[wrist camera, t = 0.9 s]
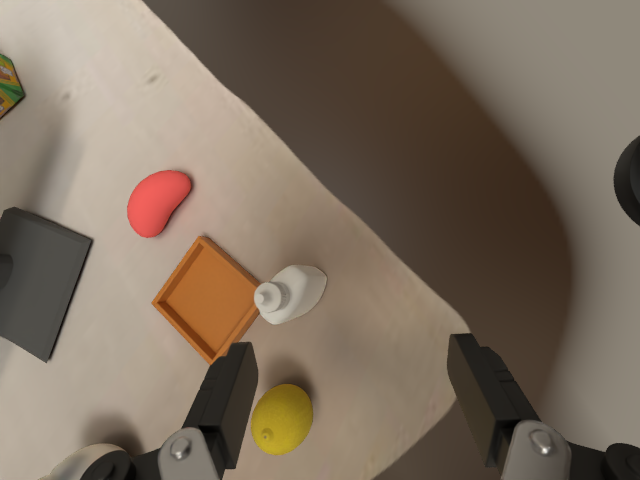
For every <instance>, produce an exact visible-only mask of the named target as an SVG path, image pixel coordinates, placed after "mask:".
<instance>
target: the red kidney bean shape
mask: <svg viewBox="0 0 640 480" xmlns="http://www.w3.org/2000/svg"><path fill="white" fill-rule="evenodd" d="M190 189H191V183H190V180H189V178H188V177H187V175H186V174H184V173H181V172H179V171H172V170H167V171H159V172H157V173H154V174H152V175H149V176H148V177H147V178H145V179H144V180H142V181H141V182H140V183H139V184H138V185H137V186H136V188H135V189H134V191H133V192H132V194H131V196H130V199H129V203H128V206H127V213H128V219H129V222H130V225H131V226H132V228H133V229H134V231H135V232H136V233H138V234H139V235H140V236H142V237H146V238H149V237H154V236H156V235H158V234H159V233H160V232H161V231H162V230H163V228H164V226H165V224H166V223H167V221H168V219H169V217H170V215H171V213H172V211H173V210H174V209H175V208H176V207H177V206H178V205H179V204H180V202H181V201H182V200H183V199H184V198H185V197H186V196H187V194H188V193H189V191H190Z"/></svg>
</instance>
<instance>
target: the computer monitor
mask: <svg viewBox="0 0 640 480" xmlns="http://www.w3.org/2000/svg"><path fill="white" fill-rule="evenodd" d="M90 242H91V240H90V239H88V238H85V237H83V236H81V235H79V234H76V233H74V232H72V231H69V230H67V229H65V228H63V227H60V226H58V225H56V224H54V223H51V222H49V221H47V220H44V219H42V218H40V217H38V216H35V215H33V214H31V213H28V212H26V211H24V210H22V209H19V208H17V207H12V208H9V209H6V210H4V212H3V214H2V217H1V220H0V336H2V337H4V338H6V339H8V340H9V341H11V342H13V343H15V344H16V345H18V346H20V347H21V348H23V349H24V350H26V351H28V352H29V353H31V354H32V355H34V356H36V357H37V358H39V359H41V360H42V361H44V362H45V363H47V361H48V358H49V355H50V353H51V350H52V347H53V344H54V341H55V339H56V336H57V333H58V330H59V328H60V325H61V322H62V319H63V317H64V314H65V311H66V308H67V306H68V303H69V300H70V297H71V295H72V292H73V289H74V286H75V283H76V281H77V278H78V275H79V272H80V270H81V267H82V264H83V261H84V259H85V256H86V253H87V250H88V248H89V245H90Z"/></svg>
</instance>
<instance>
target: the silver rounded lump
mask: <svg viewBox="0 0 640 480" xmlns="http://www.w3.org/2000/svg"><path fill="white" fill-rule="evenodd" d="M115 450H123V451H125V450H124V449H122V448H120V447H119V446H116V445H113V444H95V445H90V446H87V447H85V448H82V449H80V450H78V451H76V452H75V453H73V454H71V455H70V456H68V457H67V458H66V459H65V460H63V461H62V462H61V463H60V464H58V465H57V466H56V467H55V468H54V469H53V470H52V472H51V473H50V474H49V475H47V476H44V477H42V478H40V479H38V480H80V478H81V477H82V475H83V474H84V472H85V471H86V469H87V468H88V467H89V466H90V465H91V464H92V463H93V462H94V461H96V460H97V459H98V458H100V457H101V456H103V455H104V454H106V453H109V452H111V451H115ZM125 452H126V451H125ZM130 458H131V457H130Z"/></svg>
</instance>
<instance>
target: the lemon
mask: <svg viewBox="0 0 640 480" xmlns="http://www.w3.org/2000/svg"><path fill="white" fill-rule="evenodd" d="M312 420H313V408H312V404H311V401H310V398H309V397H308V395H307V394H306V393H305V392H304V391H303V390H302V389H301V388H299V387H298V386H295V385H292V384H282V385H278V386H275V387H273V388H272V389H270V390H269V391H267V392H266V393H265V394H264V395H263V396H262V397H261V399H260V400H259V401H258V403H257V405H256V407H255V409H254V411H253V415H252V419H251V431H252V436H253V438H254V441H255V442H256V444H257V445H258V447H259V448H260V449H262V450H263V451H264V452H266V453H268V454H272V455H283V454H285V453H288V452H290V451H292V450H294V449H295V448H296V447H297V446H299V445H300V444H301V443H302V442H303V440H304V439H305V437H306V436H307V435H308V433H309V430H310V427H311V425H312Z"/></svg>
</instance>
